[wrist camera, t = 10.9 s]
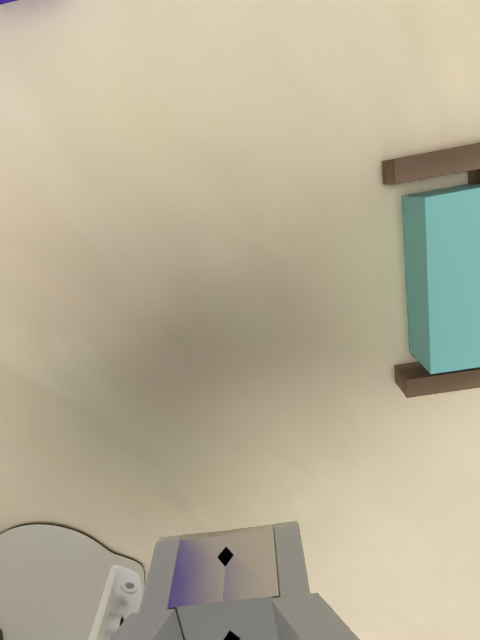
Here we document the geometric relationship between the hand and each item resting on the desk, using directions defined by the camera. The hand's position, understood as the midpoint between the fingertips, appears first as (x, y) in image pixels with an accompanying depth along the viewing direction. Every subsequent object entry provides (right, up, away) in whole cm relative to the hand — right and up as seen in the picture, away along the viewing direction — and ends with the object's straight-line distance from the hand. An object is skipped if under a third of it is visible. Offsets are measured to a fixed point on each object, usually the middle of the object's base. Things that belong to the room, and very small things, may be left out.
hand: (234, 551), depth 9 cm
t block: (+19, +9, +21) cm, 30 cm away
